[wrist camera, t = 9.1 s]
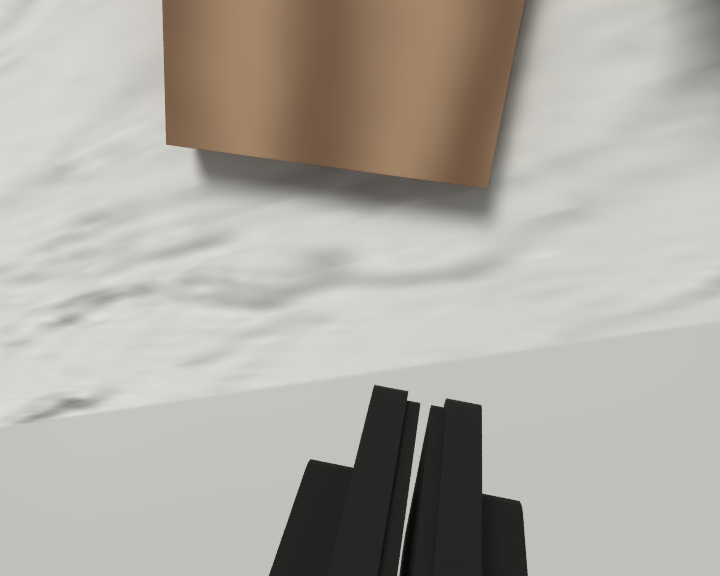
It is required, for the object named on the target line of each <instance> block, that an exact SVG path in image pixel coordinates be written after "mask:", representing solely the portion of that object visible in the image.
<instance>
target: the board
mask: <svg viewBox="0 0 720 576" xmlns="http://www.w3.org/2000/svg"><path fill="white" fill-rule="evenodd" d="M524 3H525V0H162V4H163V41H164V78H165V115H166V145H173V146H180V147H188V148H195V149H202V150H210V151H217V152H224V153H231V154H239V155H246V156H253V157H261V158H268V159H275V160H283V161H290V162H297V163H304V164H312V165H319V166H326V167H334V168H341V169H348V170H355V171H363V172H370V173H377V174H385V175H392V176H399V177H406V178H414V179H421V180H428V181H436V182H443V183H450V184H458V185H465V186H472V187H479V188H488V183H489V178H490V173H491V168H492V163H493V158H494V153H495V148H496V143H497V138H498V133H499V128H500V123H501V118H502V113H503V108H504V103H505V98H506V93H507V88H508V83H509V78H510V73H511V68H512V63H513V58H514V53H515V48H516V43H517V38H518V33H519V28H520V23H521V18H522V13H523V8H524Z"/></svg>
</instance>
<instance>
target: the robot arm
mask: <svg viewBox="0 0 720 576" xmlns="http://www.w3.org/2000/svg"><path fill="white" fill-rule="evenodd" d="M407 396H408V391H403V390H398V389H393V388H387V387H382V386H377V385H375V386H374V389H373V392H372V397H371V400H370V404H369V408H368V412H367V416H366V420H365V424H364V428H363V432H362V436H361V440H360V444H359V449H358V452H357V456H356V460H355V464H354V468H351V467H347V466H341V465H337V464H331V463H327V462H322V461H317V460H310V461H309V462H308V464H307V467H306V469H305V472H304V475H303V478H302V481H301V484H300V487H299V490H298V493H297V496H296V498H295V501H294V504H293V507H292V510H291V513H290V516H289V519H288V522H287V525H286V528H285V530H284V534H283V536H282V539H281V542H280V545H279V548H278V551H277V554H276V557H275V560H274V563H273V566H272V568H271V571H270V574H269V576H397V572H398V565H399V557H400V550H401V542H402V534H403V528H404V520H405V513H406V506H407V498H408V491H409V483H410V476H411V469H412V461H413V453H414V446H415V439H416V431H417V424H418V416H419V409H420V403H417V402H412V401H407ZM399 576H528V574H527V561H526V548H525V536H524V522H523V511H522V506H521V503H520V501H516V500H511V499H506V498H501V497H496V496H491V495H486V494H482V407H481V405H478V404H472V403H467V402H462V401H457V400H451V399H446V401H445V404H444V408H443V407H438V406H433V405H431V408H430V412H429V417H428V423H427V427H426V433H425V437H424V443H423V448H422V452H421V458H420V462H419V468H418V472H417V478H416V483H415V488H414V493H413V498H412V503H411V508H410V513H409V518H408V524H407V528H406V533H405V539H404V545H403V553H402V560H401V568H400V575H399Z"/></svg>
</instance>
